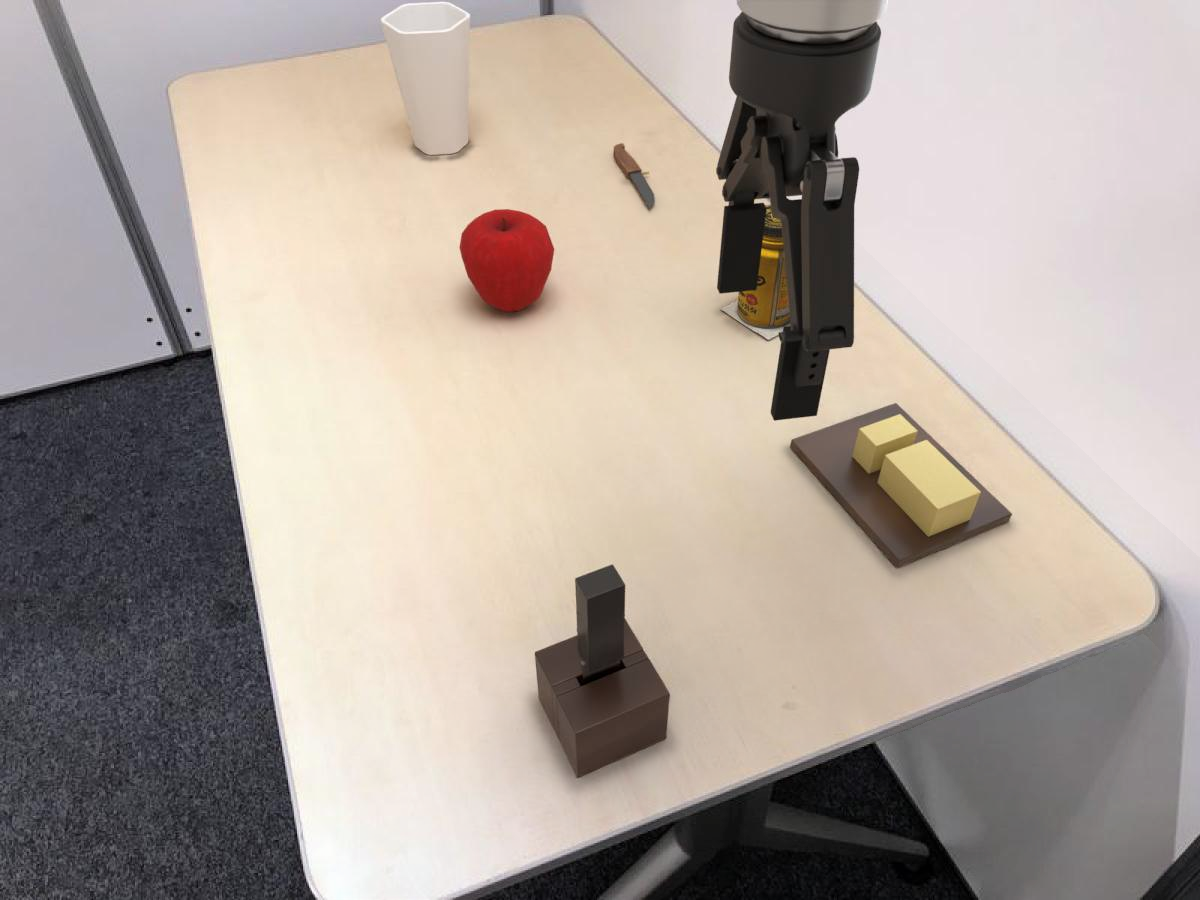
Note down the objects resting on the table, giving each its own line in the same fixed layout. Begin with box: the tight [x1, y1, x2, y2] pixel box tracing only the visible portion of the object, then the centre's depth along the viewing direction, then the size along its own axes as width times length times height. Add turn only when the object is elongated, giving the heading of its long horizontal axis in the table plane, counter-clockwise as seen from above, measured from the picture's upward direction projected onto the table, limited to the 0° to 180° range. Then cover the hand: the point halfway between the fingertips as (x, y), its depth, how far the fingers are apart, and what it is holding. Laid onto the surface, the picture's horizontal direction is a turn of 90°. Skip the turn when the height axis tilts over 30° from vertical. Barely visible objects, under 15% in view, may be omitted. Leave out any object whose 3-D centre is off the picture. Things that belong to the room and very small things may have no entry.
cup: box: [380, 1, 471, 156], centre depth 128 cm, size 11×10×17 cm
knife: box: [613, 142, 656, 209], centre depth 126 cm, size 17×1×3 cm
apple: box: [459, 208, 555, 313], centre depth 103 cm, size 10×10×11 cm
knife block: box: [534, 618, 671, 778], centre depth 68 cm, size 7×7×6 cm
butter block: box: [877, 440, 981, 537], centre depth 83 cm, size 7×4×4 cm, turn 25°
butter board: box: [789, 402, 1013, 568], centre depth 87 cm, size 16×12×1 cm
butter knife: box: [574, 563, 626, 686], centre depth 65 cm, size 2×3×16 cm, turn 115°
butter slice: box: [853, 414, 918, 474], centre depth 87 cm, size 2×4×4 cm, turn 115°
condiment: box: [719, 204, 791, 341], centre depth 102 cm, size 7×8×12 cm
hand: (762, 347), depth 64 cm, fingers open, 13 cm apart
